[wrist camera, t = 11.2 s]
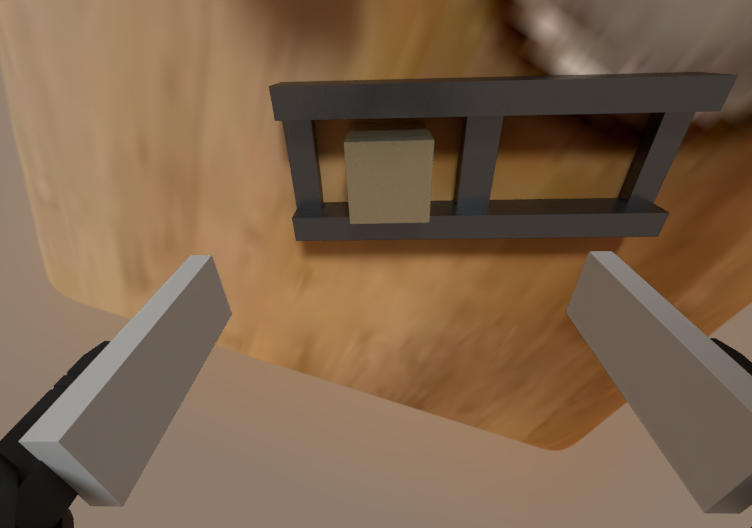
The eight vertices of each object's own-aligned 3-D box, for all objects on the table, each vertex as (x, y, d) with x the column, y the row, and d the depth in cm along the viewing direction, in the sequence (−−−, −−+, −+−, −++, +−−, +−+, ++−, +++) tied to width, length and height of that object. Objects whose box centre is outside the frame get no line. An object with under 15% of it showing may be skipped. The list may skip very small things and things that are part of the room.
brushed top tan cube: (350, 124, 25) (343, 142, 20) (424, 122, 25) (434, 139, 20) (355, 194, 28) (350, 223, 23) (421, 193, 28) (429, 222, 23)
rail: (281, 82, 23) (268, 86, 21) (698, 71, 22) (738, 75, 20) (303, 224, 29) (295, 240, 27) (633, 219, 28) (657, 236, 26)
